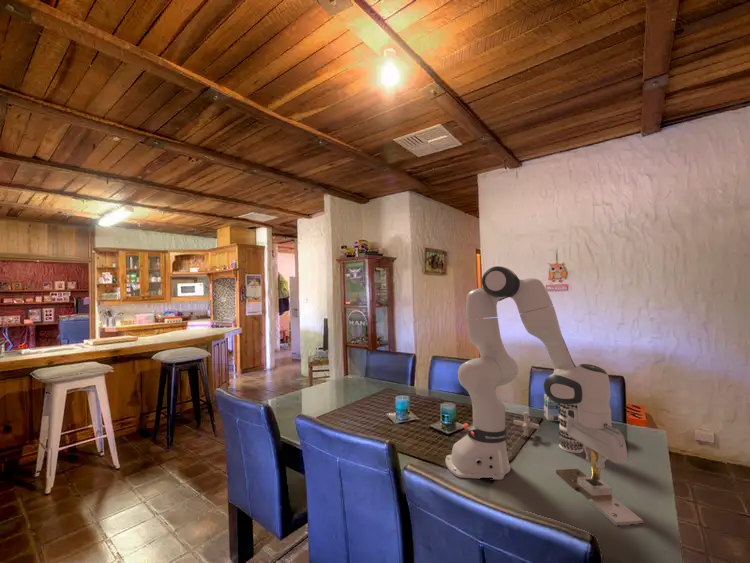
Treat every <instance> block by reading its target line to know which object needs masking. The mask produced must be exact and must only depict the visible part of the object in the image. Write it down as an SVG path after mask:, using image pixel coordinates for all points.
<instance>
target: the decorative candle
mask: <svg viewBox="0 0 750 563" xmlns="http://www.w3.org/2000/svg"><path fill="white" fill-rule="evenodd" d="M558 405H559V406H558V409H559V410H558V413H559V418H560V421H559V427H558V430H559V431H558V435H559V436H558V439H559V440H558V443H559V444H558V447H559V448H560V449H561V450H564V451H565V452H568V453H572V454H581V453H583V452H584V448H583V444H582V443H580V442H578V441H577V440H575V439H573V438H572V437H570V436H569V435H568V433H567V417H568V416H567V414H566V410H567V409H572V408H577V404H561V403H558Z"/></svg>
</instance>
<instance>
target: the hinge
mask: <svg viewBox="0 0 750 563" xmlns="http://www.w3.org/2000/svg"><path fill="white" fill-rule="evenodd" d="M555 473H556V474H557V475H558V476H559V477H560V478H561V479H562V480H564V481H565V482H566V484H568V485H569V486H570V487H572V488H573V489H574V491H578V492H579V493H581V494H582V495H583V497H585V498H586V499H587V500H588V501H589V504H590V505H592V506H593V507H594V509H596V511H598V512H599V513H600V514H602V515H603V517H605V518H606V519H607V520H608V519H609V520H608V521H609V522H611V523H612V524H613V525H614V526H615V525H616V526H615V527H617V525H620V526H630V524H635V525H639V524H638V523H643V524H644V519H642V518H641V517H639V516H638V515H637V514H636V513H634V512H633V511H632V510H631V509H629V508H628V507H627V506H625V505H624V504H623V503H622V502H620V501H619V500H618V499H617V498H615V497H613V487H611V486H610V485H609V484H607V483H606V482H605V481H604V480H603V479H601V478H600V480H595V479H593V478H591V475H590V476H589V475H587V474H585V473H584V472H583V471H581V470H580V469H579V468H569V469H567V468H565V469H555Z"/></svg>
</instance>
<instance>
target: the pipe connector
mask: <svg viewBox="0 0 750 563" xmlns="http://www.w3.org/2000/svg"><path fill="white" fill-rule="evenodd" d="M513 425H517V426H520V427H521V426H522V427H521V428H522V430H523V436H524V435H525V436H527V437H526V438H528V437H529V431H530V430H529V428H530V429H531V428H532V429H536V430H539V429H540V424H537V423H534V422H533V423H532V422H531V419H530V417H529V412H528V411H524V412H523V421H522V420H517V419H513ZM525 436H524V437H525Z"/></svg>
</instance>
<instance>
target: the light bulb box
mask: <svg viewBox="0 0 750 563" xmlns="http://www.w3.org/2000/svg"><path fill="white" fill-rule="evenodd" d="M558 406H559V405H558V403H556V402H554V401H552V400H551V399H550V398H549V397H548V396H547V395H546V393H544V394H543V417H544V418H546V420H547V421H552V422H553V421H554V422H560V418H559V413H558V410H559V409H558Z"/></svg>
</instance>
